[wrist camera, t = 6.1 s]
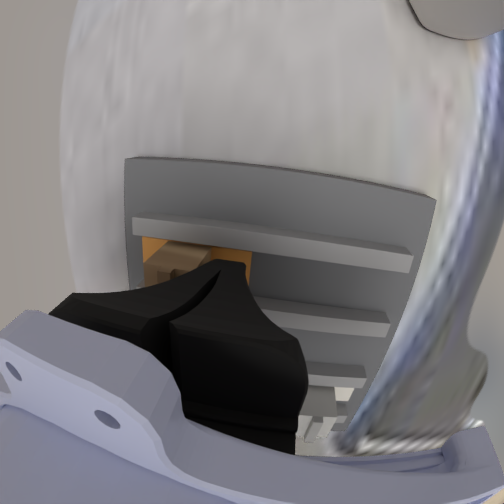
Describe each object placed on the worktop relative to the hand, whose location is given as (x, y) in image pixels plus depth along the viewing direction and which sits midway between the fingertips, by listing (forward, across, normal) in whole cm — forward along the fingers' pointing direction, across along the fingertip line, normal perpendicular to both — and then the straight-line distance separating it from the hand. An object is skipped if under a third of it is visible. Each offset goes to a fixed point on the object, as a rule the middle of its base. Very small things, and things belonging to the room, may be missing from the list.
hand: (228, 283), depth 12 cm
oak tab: (+1, +2, 0) cm, 2 cm away
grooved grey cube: (+1, -5, +7) cm, 9 cm away
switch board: (+3, -2, +4) cm, 5 cm away
